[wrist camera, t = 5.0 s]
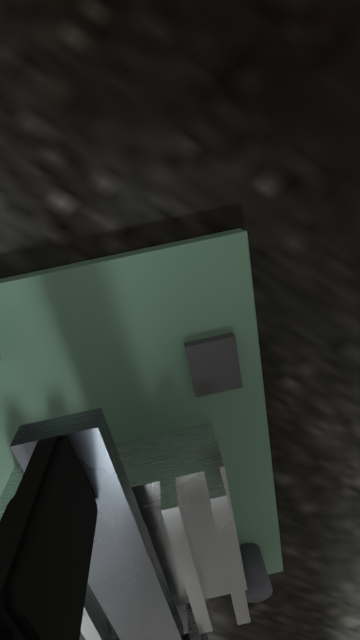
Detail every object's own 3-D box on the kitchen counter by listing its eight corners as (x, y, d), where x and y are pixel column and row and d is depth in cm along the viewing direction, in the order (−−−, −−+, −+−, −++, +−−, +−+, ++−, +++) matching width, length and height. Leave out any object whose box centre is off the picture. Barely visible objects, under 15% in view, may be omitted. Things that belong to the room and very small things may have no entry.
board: (277, 553, 20) (298, 611, 17) (40, 607, 20) (22, 675, 17) (239, 228, 12) (266, 238, 10) (-149, 310, 12) (-237, 345, 9)
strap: (182, 624, 15) (184, 647, 14) (132, 636, 15) (132, 660, 14) (101, 407, 9) (97, 427, 9) (19, 425, 9) (9, 446, 9)
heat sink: (235, 549, 19) (275, 709, 13) (39, 594, 19) (-10, 777, 13) (178, 256, 12) (208, 318, 6) (-130, 322, 12) (-394, 447, 6)
